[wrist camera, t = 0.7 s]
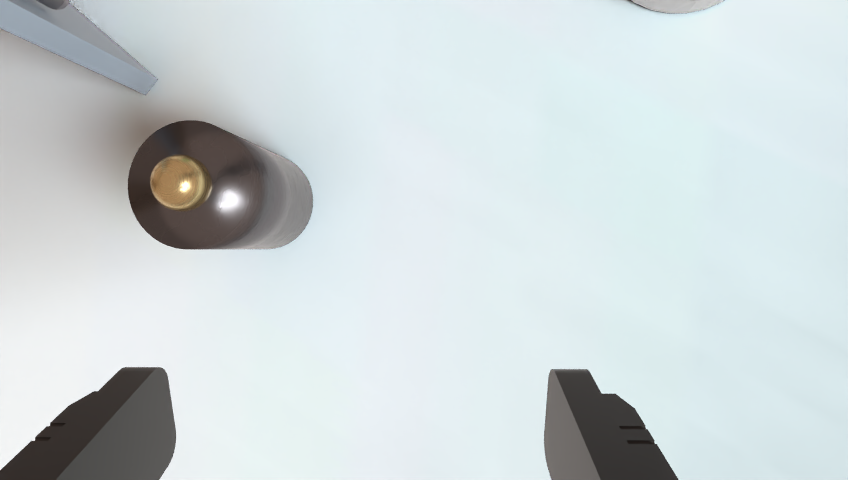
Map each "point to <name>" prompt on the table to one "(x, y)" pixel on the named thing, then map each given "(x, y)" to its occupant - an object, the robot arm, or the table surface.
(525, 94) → the table surface
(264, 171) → the pepper mill
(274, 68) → the table surface
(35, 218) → the table surface
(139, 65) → the cabinet door
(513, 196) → the table surface
